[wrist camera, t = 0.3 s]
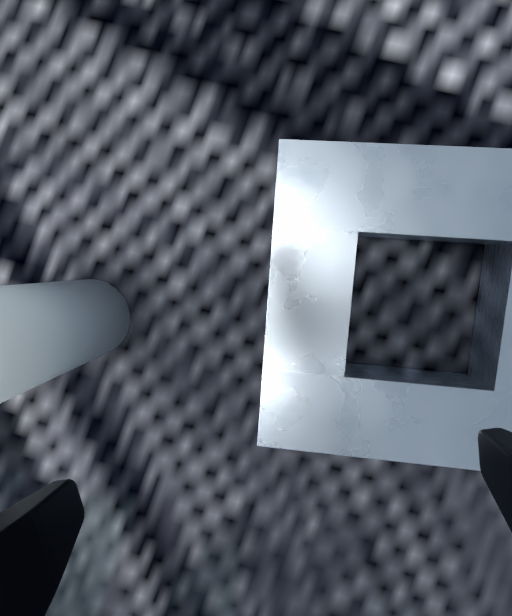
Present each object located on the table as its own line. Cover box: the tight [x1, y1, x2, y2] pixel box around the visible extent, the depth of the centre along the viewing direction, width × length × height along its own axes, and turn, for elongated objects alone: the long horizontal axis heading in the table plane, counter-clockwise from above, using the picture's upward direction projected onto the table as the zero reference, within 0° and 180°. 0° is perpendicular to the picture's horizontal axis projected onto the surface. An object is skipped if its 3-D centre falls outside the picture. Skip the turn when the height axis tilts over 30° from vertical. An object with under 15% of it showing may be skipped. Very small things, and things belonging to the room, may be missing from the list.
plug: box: [0, 279, 130, 403], centre depth 18 cm, size 4×4×11 cm
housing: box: [257, 139, 512, 471], centre depth 20 cm, size 15×15×3 cm
